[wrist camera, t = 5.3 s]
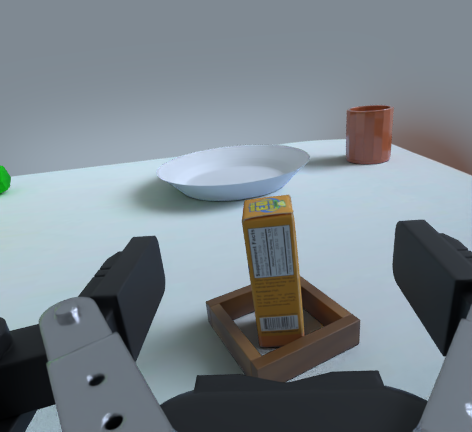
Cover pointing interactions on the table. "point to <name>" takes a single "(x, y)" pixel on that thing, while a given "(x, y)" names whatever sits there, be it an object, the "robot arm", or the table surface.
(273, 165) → the white plate
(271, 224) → the supplement box
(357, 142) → the cup
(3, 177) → the green faceted polyhedron
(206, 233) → the table surface
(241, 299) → the wooden frame
